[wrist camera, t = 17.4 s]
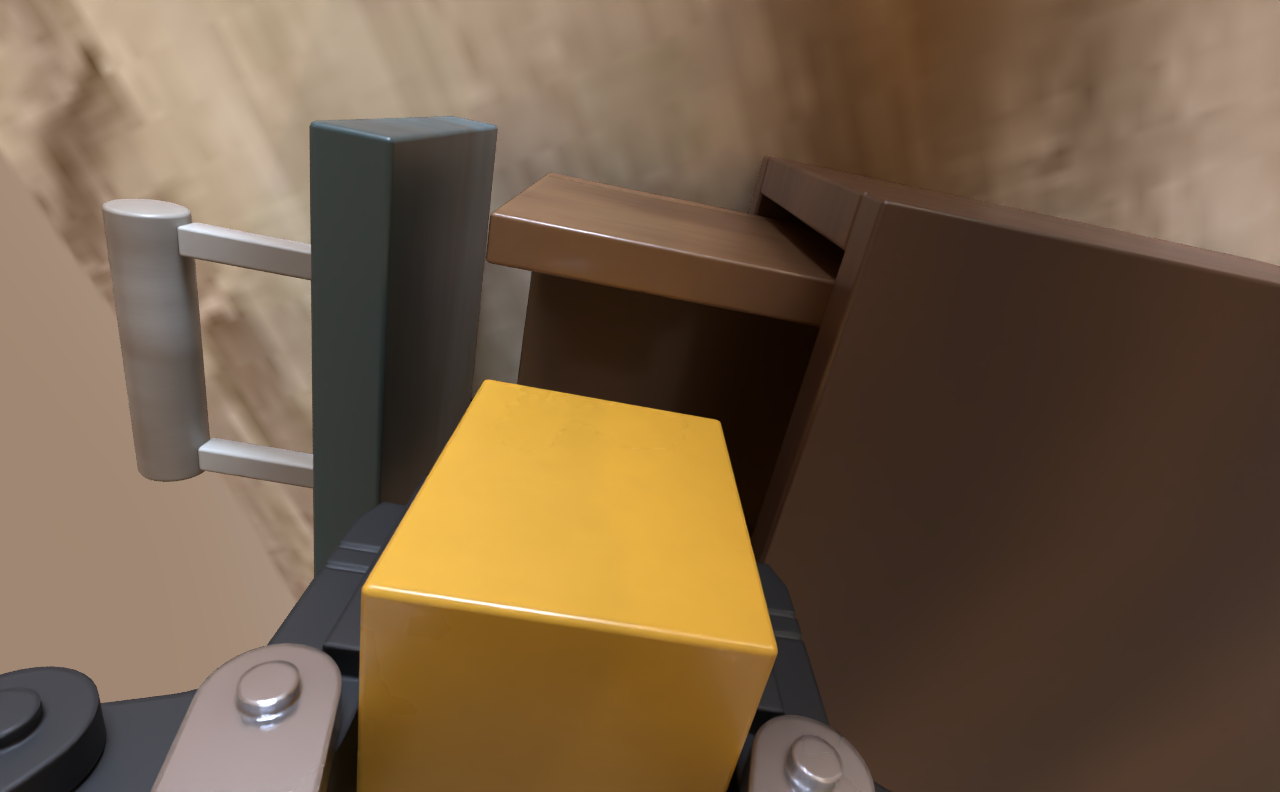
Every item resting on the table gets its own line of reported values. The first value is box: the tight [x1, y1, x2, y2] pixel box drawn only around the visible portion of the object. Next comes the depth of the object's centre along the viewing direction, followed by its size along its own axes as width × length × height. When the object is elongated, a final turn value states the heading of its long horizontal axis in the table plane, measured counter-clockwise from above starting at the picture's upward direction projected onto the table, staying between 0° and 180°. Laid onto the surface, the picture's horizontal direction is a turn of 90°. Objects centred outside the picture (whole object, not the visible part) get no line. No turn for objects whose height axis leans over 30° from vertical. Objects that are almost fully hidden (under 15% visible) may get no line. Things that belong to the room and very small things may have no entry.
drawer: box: [102, 116, 845, 578], centre depth 15 cm, size 18×11×7 cm, turn 79°
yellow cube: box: [357, 380, 778, 792], centre depth 9 cm, size 4×5×5 cm, turn 169°
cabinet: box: [748, 155, 1280, 792], centre depth 16 cm, size 14×12×9 cm
